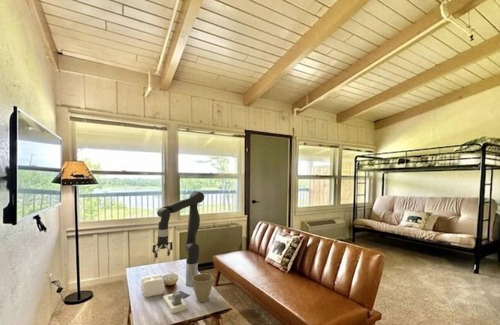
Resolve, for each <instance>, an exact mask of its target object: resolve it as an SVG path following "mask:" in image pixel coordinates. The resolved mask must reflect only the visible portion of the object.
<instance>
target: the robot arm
mask: <svg viewBox="0 0 500 325" xmlns="http://www.w3.org/2000/svg"><path fill="white" fill-rule="evenodd" d="M204 199H205V194H204V193H203V192H201V191H195V190H193V191H192V192H191V193H190V195H189V198H186V199H182V200H178V201H176V202H173V203H171V204H168V205H165V206H162V207H160V208H159V209H158V210H157V211H156V215H157V217H159V218H160V221H158V227H157V242H156V243H152V249H151V250H152V251H151V252H152V253H153V254H154V258H156V259H158V252H159V251H161V250H164V249H166V251H167V252H166V254H167V257H170V254H171V251H172V250H173V249H174V248H173V241H171V240H170V241H169V222H170V218H171V214H176V213H177V212H179V211H181V210H183V209H186V208H188V207H189V213H188V223H187V224H188V226H187V236H186V241H185V242H186V243H185V251H186V253H187V258H186V262H185V263H186V264H185V286H188V287H194V286H193V279H192V278H193V276H195V275H197V274H199V271H198V268H199V267H198V264H199V263H198V262H199V259H200V258H199V257H200V247H199V245H198V244H197V242H196V238H197V233H198V231H199V228H200V226H201V225H200V223H201V217H200V216H201V215H200V212H199V209H198V208H199V207H198V204H200V203H202V202H203V201H204ZM168 245H169V246H168Z"/></svg>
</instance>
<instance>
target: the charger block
mask: <svg viewBox="0 0 500 325" xmlns="http://www.w3.org/2000/svg"><path fill="white" fill-rule="evenodd" d="M172 294H173V295H172V304H173V306H176V305H180V304H181V293H180V292H178V291H176V292H172Z"/></svg>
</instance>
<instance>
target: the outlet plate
mask: <svg viewBox="0 0 500 325" xmlns="http://www.w3.org/2000/svg"><path fill="white" fill-rule="evenodd" d="M172 295H173V293H171V294H165V295H163V296H162V300H163V303H164V304H165V306H166V308H167V309H168V311H169V313H170V314H174V313H175V314H176V313H178V312H182V311H186V310H187V306H188V305H187V303H186V302H185V301H184V299H183V298H181V304H180V305H176V306H173V304H172Z"/></svg>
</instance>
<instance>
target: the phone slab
mask: <svg viewBox="0 0 500 325" xmlns="http://www.w3.org/2000/svg"><path fill="white" fill-rule="evenodd" d="M177 292H180V293H181V298H182V299H183V300H184V299H185V298H188V297H190V296H191V294H188V293H186V292H185V291H182V290H179V291H177Z"/></svg>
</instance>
